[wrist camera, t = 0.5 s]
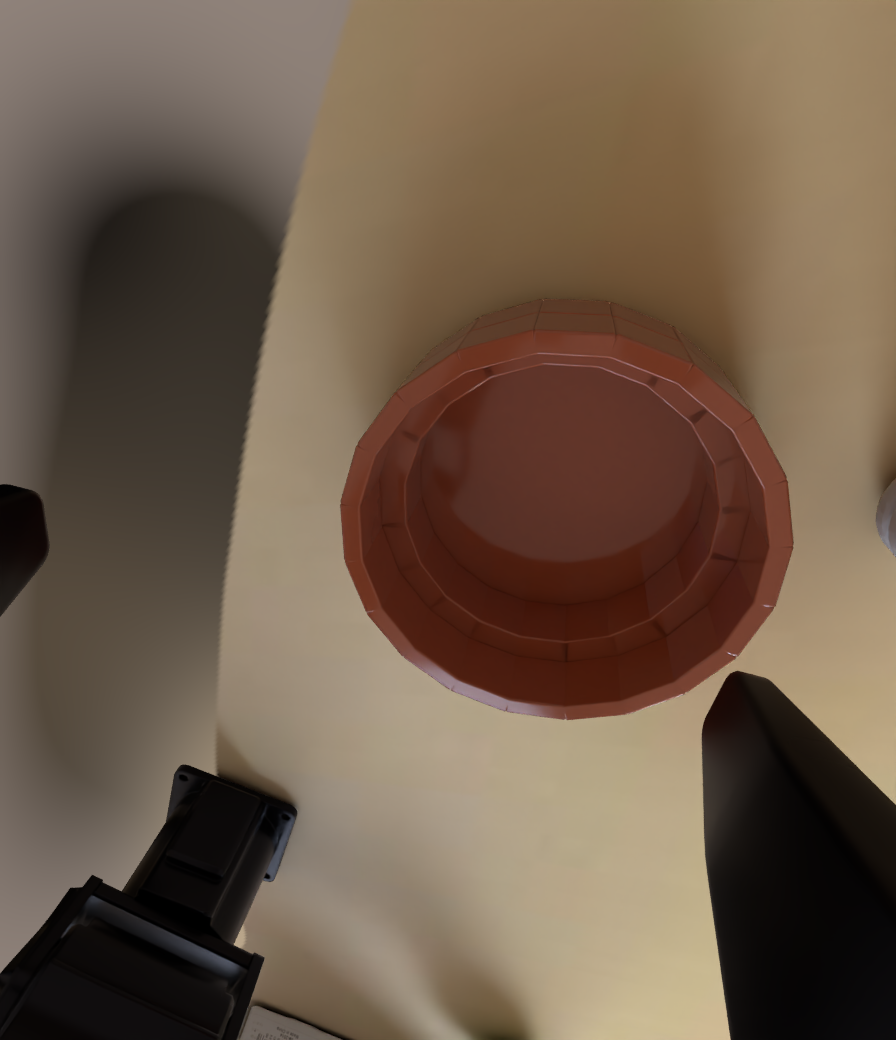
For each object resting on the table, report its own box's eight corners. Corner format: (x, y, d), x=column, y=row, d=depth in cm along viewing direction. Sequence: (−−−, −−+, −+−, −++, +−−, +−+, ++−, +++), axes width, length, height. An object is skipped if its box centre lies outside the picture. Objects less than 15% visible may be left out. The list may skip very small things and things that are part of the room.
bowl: (641, 668, 26) (652, 769, 21) (349, 555, 26) (302, 633, 21) (830, 383, 20) (900, 444, 15) (448, 234, 19) (409, 253, 15)
